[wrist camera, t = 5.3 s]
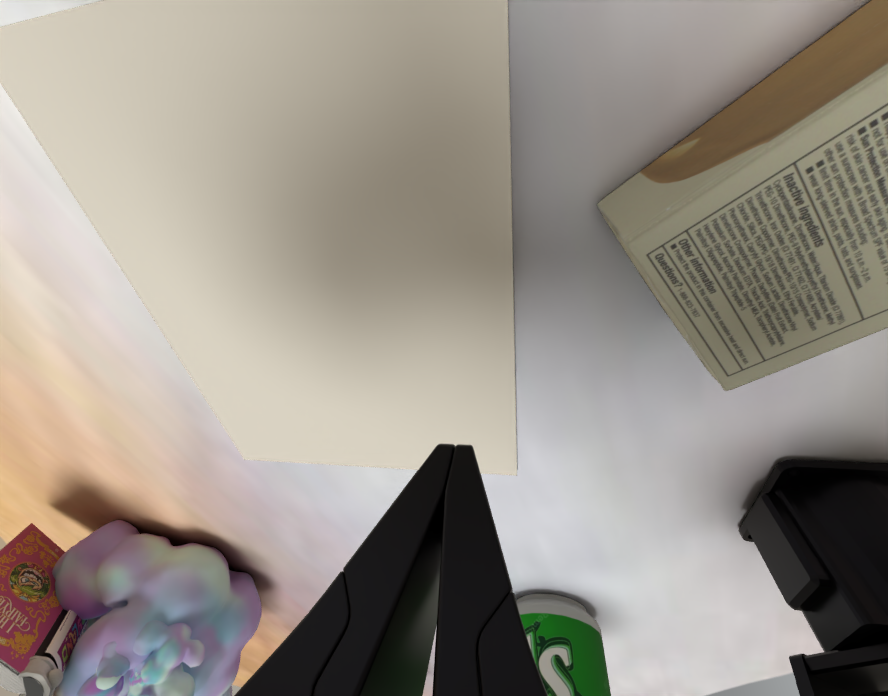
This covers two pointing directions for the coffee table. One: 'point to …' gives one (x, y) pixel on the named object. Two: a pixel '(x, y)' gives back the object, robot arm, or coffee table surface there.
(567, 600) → the soda can
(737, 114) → the skincare box
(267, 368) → the cream mat
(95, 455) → the coffee table surface
